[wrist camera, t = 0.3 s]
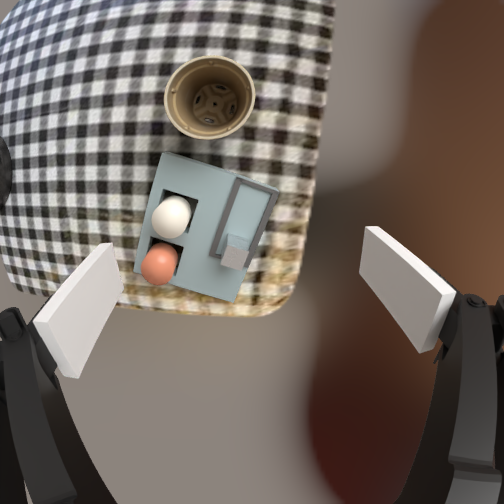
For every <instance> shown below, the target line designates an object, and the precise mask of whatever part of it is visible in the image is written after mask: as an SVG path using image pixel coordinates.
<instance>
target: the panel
mask: <svg viewBox="0 0 504 504" xmlns="http://www.w3.org/2000/svg"><path fill="white" fill-rule="evenodd" d="M166 190H169V191H172V192H176V193H179V194H182V195H185V196H188V197H191V198H194V199H198V200H199V201H198V204H197V207H196V210H195V213H194V216H193V219H192V222H191V226H190V228H189V227H186V229H185V231H184V232H183V233H182V234H181V235H180V236H178V237H176V238H171V239H169V238H164V237H162V236H160V235H159V234H157V233H156V231H155V230H154V228H153V226H152V221H151V219H152V214H153V212H154V210H155V209H156V208H157V207H158V206H159V205H160V204H161V203H162V202H163V198H164V194H165V191H166ZM278 195H279V191H278V189H277V188H275V187H272V186H269V185H267V184H264V183H261V182H259V181H256V180H253V179H250V178H247V177H245V176H242V175H239V174H236V173H233V172H230V171H227V170H224V169H221V168H218V167H215V166H212V165H209V164H206V163H203V162H200V161H197V160H194V159H191V158H187V157H184V156H181V155H177V154H174V153H171V152H167V151H166V152H163V153H162V155H161V158H160V161H159V165H158V168H157V171H156V175H155V178H154V182H153V186H152V189H151V193H150V197H149V201H148V205H147V209H146V213H145V217H144V221H143V226H142V230H141V235H140V239H139V244H138V249H137V254H136V259H135V265H134V270H133V272H136V273H139V274H142V273H141V263H142V261H143V260H144V258H145V256H146V255H147V253H148V252H149V250H150V249H151V245H152V241H153V237H155V238H158V239H161V240H164V241H167V242H170V243H174V244H177V245H180V246H183V247H184V249H183V252H182V256H181V259H180V263H179V266H178V268H175V270H174V273H173V275H172V278H171V280H170V281H169V282H168V283H169V284H172V285H176V286H179V287H182V288H185V289H189V290H192V291H195V292H198V293H202V294H205V295H209V296H212V297H216V298H219V299H222V300H226V301H230V302H233V303H234V300H235V298H236V295H237V293H238V291H239V288H240V286H241V283H242V281H243V279H244V276H245V274H246V272H247V269H248V267H249V265H250V262H251V260H252V257H253V255H254V253H255V250H256V248H257V246H258V243H259V241H260V238H261V236H262V234H263V231H264V229H265V226H266V224H267V222H268V219H269V217H270V214H271V212H272V210H273V207H274V205H275V202H276V200H277V198H278ZM227 234H232V235H235V236H238V237H241V238H244V239H247V240H248V247H249V254H248V256H247V258H246V261H245V263H244V266H243V268H242V271H240V270H236V269H233V268H230V267H227V266H223V265H220V262H221V251H222V248H223V245H224V243H225V240H226V237H227Z"/></svg>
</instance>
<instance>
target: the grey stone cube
mask: <svg viewBox="0 0 504 504" xmlns="http://www.w3.org/2000/svg"><path fill="white" fill-rule="evenodd" d="M248 254H249V247H248V240H247V239H244V238H241V237H238V236H235V235H232V234H227V237H226V240H225V243H224V245H223V248H222V251H221V262H220V265H223V266H227V267H230V268H233V269H236V270H240V271H242V268H243V266H244V263H245V261H246V258H247V256H248Z"/></svg>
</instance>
